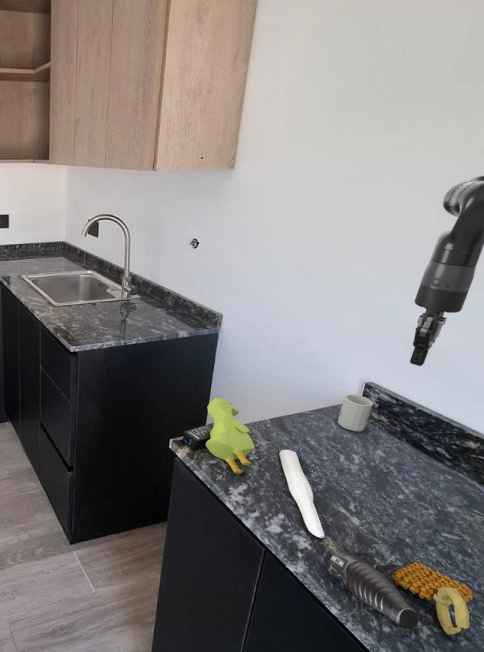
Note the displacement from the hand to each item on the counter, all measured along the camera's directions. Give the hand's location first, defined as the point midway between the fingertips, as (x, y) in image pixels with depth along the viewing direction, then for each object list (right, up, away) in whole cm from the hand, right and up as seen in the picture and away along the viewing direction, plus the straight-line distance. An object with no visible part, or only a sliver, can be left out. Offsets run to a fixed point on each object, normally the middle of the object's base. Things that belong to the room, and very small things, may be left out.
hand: (416, 363), depth 100 cm
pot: (+2, -18, +24) cm, 30 cm away
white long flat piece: (-26, -26, -1) cm, 37 cm away
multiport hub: (-39, -20, +15) cm, 47 cm away
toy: (-34, -23, +2) cm, 41 cm away
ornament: (-16, -33, -20) cm, 41 cm away
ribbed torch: (-23, -34, -24) cm, 48 cm away
